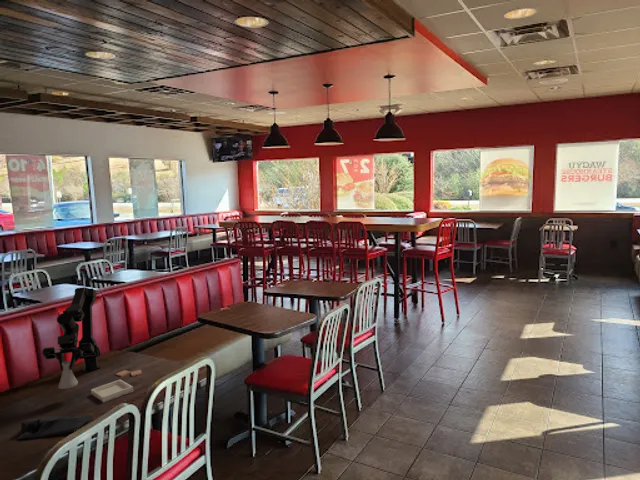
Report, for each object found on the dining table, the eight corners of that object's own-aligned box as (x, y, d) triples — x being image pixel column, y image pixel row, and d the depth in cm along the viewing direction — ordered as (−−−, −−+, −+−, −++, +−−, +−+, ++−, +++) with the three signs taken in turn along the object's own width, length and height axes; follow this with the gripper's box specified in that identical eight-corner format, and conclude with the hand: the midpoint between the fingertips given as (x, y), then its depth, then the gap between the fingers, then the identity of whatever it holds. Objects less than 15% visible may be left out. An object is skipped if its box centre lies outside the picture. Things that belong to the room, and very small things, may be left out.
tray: (91, 394, 200) (90, 389, 200) (120, 384, 209) (120, 379, 209) (103, 402, 192) (102, 397, 191) (133, 391, 201) (133, 386, 200)
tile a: (116, 375, 220) (116, 373, 220) (125, 372, 224) (124, 370, 224) (121, 377, 218) (121, 375, 218) (130, 374, 221) (130, 371, 221)
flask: (81, 382, 199) (79, 359, 198) (71, 389, 191) (69, 365, 190) (65, 382, 199) (62, 359, 198) (54, 389, 192) (52, 366, 191)
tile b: (130, 374, 221) (130, 371, 221) (140, 372, 223) (140, 369, 223) (132, 377, 217) (131, 375, 217) (142, 375, 219) (142, 372, 219)
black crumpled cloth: (75, 438, 166) (73, 425, 165) (13, 442, 166) (11, 429, 165) (95, 416, 181) (94, 404, 181) (38, 420, 181) (36, 408, 181)
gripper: (40, 329, 195) (34, 365, 185) (89, 324, 199) (85, 358, 189) (49, 341, 203) (43, 376, 194) (95, 336, 207) (92, 369, 198)
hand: (66, 369), depth 194 cm, fingers closed on flask, 3 cm apart
